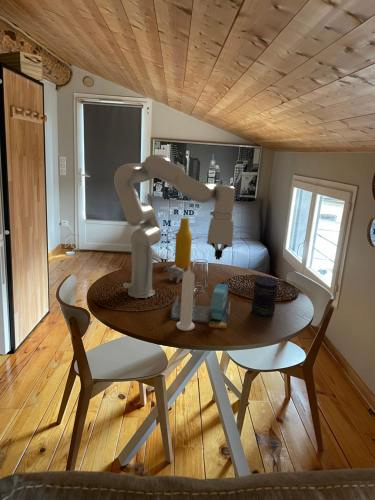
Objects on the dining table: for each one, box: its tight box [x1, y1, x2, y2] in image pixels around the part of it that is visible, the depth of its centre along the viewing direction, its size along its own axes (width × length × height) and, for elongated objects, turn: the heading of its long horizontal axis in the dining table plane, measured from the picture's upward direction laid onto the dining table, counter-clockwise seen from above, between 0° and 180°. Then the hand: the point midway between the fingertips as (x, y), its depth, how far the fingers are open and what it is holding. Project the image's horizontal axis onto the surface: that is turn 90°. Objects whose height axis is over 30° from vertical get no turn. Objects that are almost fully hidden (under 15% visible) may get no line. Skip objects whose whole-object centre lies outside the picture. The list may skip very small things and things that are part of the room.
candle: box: [176, 265, 196, 332], centre depth 137 cm, size 7×7×25 cm
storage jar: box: [250, 276, 279, 319], centre depth 155 cm, size 10×10×15 cm
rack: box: [170, 294, 231, 329], centre depth 150 cm, size 23×16×5 cm
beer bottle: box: [173, 217, 193, 270], centre depth 208 cm, size 9×9×29 cm
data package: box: [210, 283, 229, 320], centre depth 149 cm, size 12×4×12 cm, turn 164°
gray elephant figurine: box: [163, 264, 185, 284], centre depth 189 cm, size 9×12×8 cm
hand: (217, 258), depth 152 cm, fingers closed
